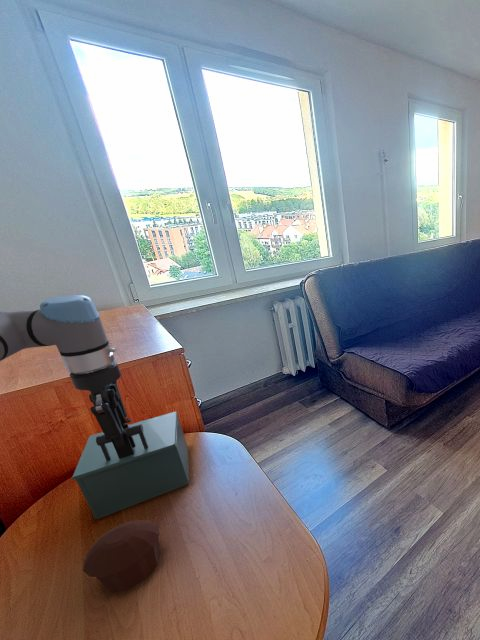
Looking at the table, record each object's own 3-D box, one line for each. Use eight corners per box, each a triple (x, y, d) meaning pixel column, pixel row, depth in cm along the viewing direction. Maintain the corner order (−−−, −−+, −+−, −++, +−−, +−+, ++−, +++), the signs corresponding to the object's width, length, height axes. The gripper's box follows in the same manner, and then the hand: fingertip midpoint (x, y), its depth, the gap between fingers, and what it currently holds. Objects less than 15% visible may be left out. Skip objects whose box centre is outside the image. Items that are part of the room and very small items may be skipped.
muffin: (173, 533, 76) (161, 501, 73) (161, 581, 67) (147, 547, 63) (106, 556, 71) (90, 523, 68) (84, 611, 62) (63, 576, 59)
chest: (189, 483, 89) (176, 446, 85) (95, 519, 79) (75, 479, 75) (188, 448, 102) (177, 413, 97) (107, 475, 92) (90, 438, 87)
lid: (175, 446, 84) (167, 421, 81) (73, 480, 74) (60, 453, 71) (177, 413, 97) (170, 391, 94) (90, 438, 87) (80, 414, 85)
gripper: (109, 376, 68) (144, 465, 76) (120, 349, 80) (149, 428, 88) (58, 387, 64) (100, 480, 72) (77, 357, 76) (112, 439, 84)
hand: (127, 451), depth 80 cm, fingers closed on lid, 2 cm apart
